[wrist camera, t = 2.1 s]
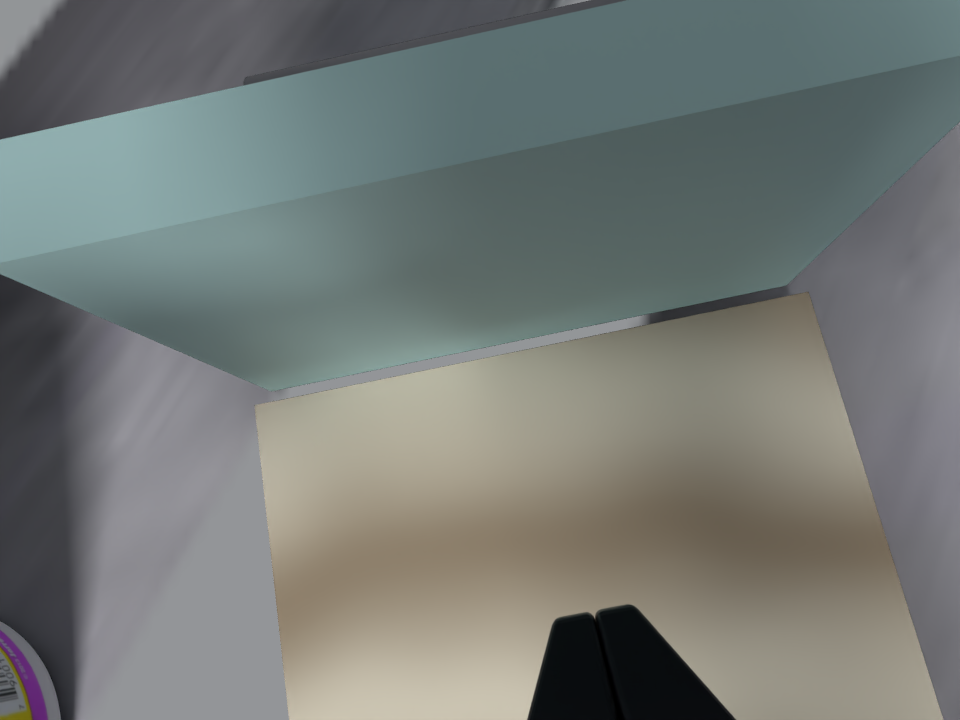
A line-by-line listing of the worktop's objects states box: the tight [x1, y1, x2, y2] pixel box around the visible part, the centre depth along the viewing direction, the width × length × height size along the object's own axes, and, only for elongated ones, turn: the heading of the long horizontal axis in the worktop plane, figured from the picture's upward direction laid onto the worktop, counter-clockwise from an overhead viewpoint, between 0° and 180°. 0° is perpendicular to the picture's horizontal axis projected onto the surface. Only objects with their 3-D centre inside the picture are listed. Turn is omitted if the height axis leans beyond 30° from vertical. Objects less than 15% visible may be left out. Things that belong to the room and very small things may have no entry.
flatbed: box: [255, 292, 943, 720], centre depth 18 cm, size 10×13×2 cm
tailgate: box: [0, 0, 960, 391], centre depth 14 cm, size 2×12×10 cm, turn 101°
